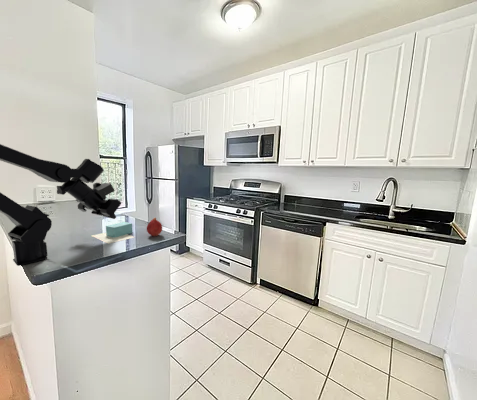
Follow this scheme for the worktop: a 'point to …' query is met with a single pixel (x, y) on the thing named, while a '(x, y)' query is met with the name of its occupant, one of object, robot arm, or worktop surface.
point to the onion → (154, 227)
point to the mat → (111, 238)
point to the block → (119, 229)
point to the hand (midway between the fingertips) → (115, 217)
